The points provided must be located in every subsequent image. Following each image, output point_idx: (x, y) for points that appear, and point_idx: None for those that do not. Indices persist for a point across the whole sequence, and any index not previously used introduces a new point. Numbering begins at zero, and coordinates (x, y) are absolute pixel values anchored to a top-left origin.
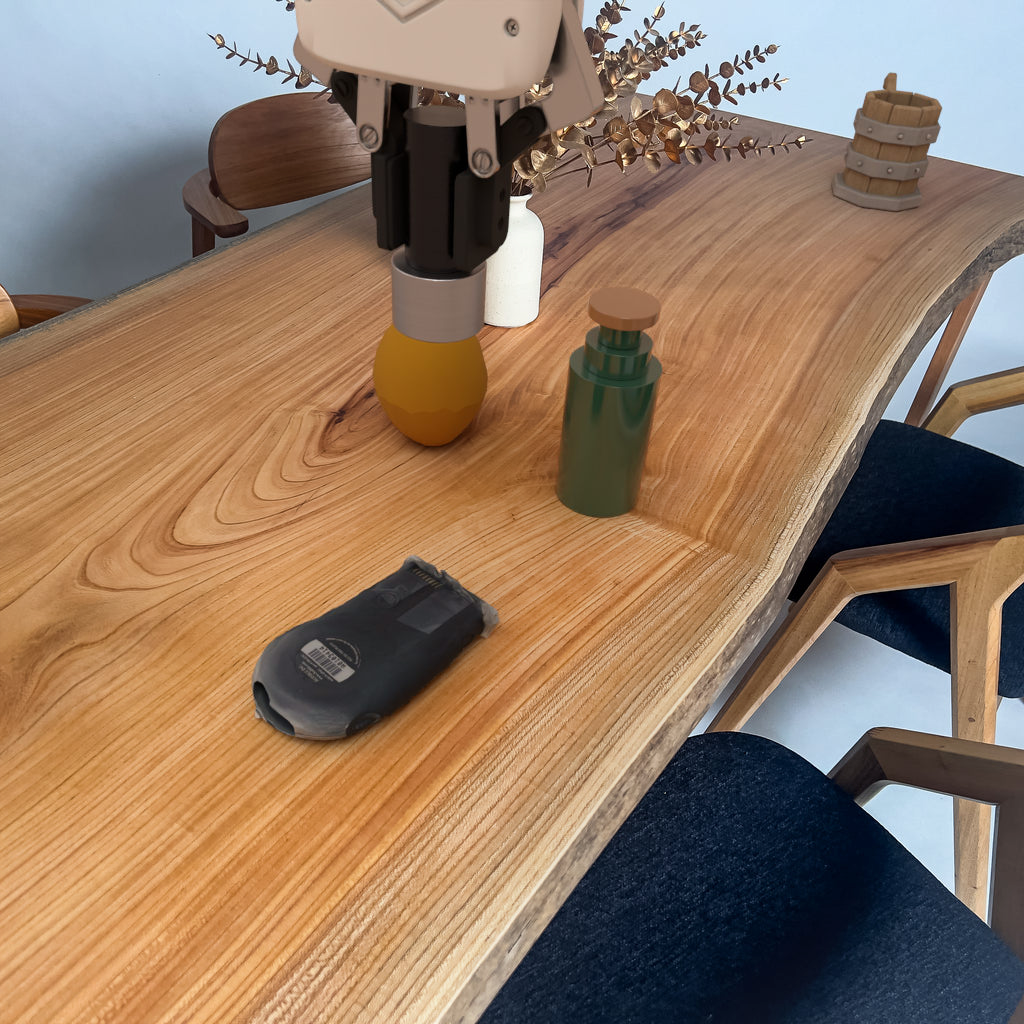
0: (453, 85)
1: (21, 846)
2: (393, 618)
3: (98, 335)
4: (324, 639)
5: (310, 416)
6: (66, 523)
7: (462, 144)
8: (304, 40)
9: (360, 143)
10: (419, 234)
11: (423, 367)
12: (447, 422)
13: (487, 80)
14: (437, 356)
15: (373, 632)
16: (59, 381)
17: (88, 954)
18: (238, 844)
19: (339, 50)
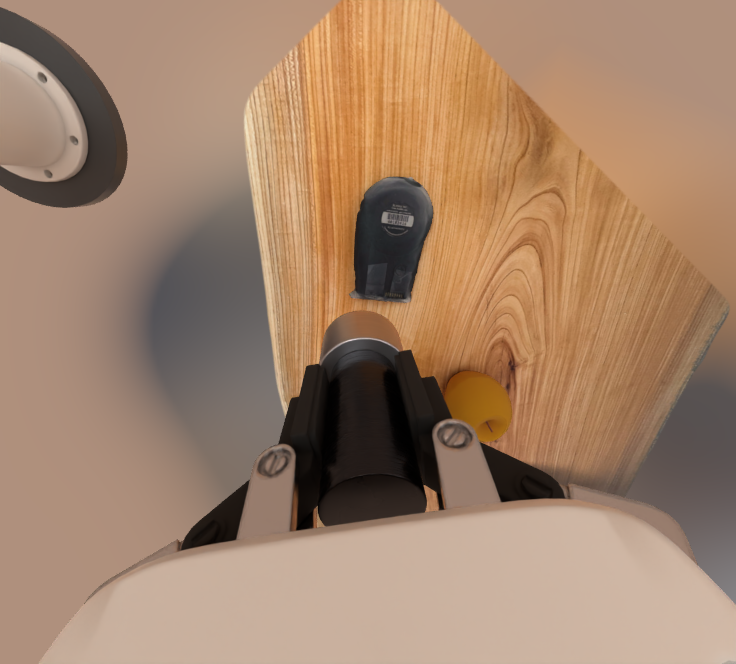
0: (240, 548)
1: (456, 32)
2: (389, 262)
3: (681, 339)
4: (408, 229)
5: (525, 357)
6: (593, 215)
7: (321, 478)
8: (645, 532)
9: (464, 423)
10: (362, 371)
11: (474, 400)
12: (450, 385)
13: (153, 587)
14: (471, 410)
15: (391, 248)
16: (677, 297)
17: (382, 9)
18: (368, 113)
19: (536, 537)
